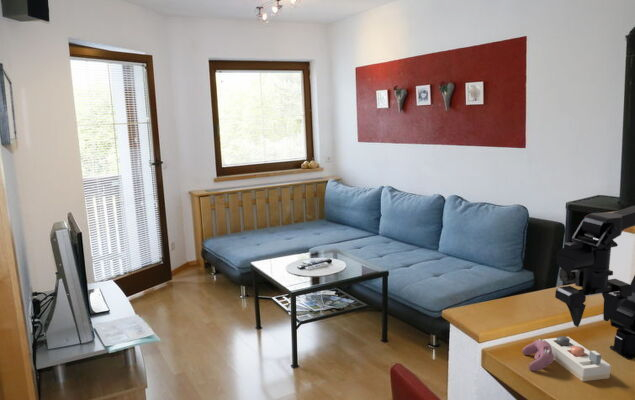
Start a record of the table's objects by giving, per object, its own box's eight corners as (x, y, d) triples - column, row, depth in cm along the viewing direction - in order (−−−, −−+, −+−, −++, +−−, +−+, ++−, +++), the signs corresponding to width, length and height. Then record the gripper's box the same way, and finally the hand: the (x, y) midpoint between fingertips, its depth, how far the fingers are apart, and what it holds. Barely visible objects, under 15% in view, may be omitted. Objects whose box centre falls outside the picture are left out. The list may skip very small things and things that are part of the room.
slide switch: (592, 366, 126) (594, 350, 125) (599, 371, 123) (601, 354, 123) (588, 367, 126) (589, 350, 125) (595, 372, 123) (597, 355, 122)
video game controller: (544, 379, 126) (560, 357, 124) (527, 369, 127) (543, 348, 125) (535, 359, 136) (550, 338, 134) (520, 351, 136) (534, 330, 134)
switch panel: (566, 348, 138) (568, 336, 138) (609, 378, 123) (610, 365, 123) (542, 350, 137) (543, 339, 136) (582, 381, 122) (583, 368, 121)
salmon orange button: (578, 352, 131) (579, 345, 130) (586, 358, 128) (587, 350, 127) (568, 353, 130) (568, 346, 130) (576, 359, 127) (576, 352, 127)
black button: (563, 342, 136) (564, 335, 136) (571, 347, 133) (572, 340, 133) (554, 343, 136) (554, 336, 135) (561, 348, 133) (562, 341, 132)
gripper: (600, 251, 135) (595, 305, 139) (541, 259, 130) (538, 315, 134) (636, 264, 125) (630, 322, 128) (574, 273, 120) (569, 334, 123)
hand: (591, 323), depth 128 cm, fingers open, 9 cm apart
